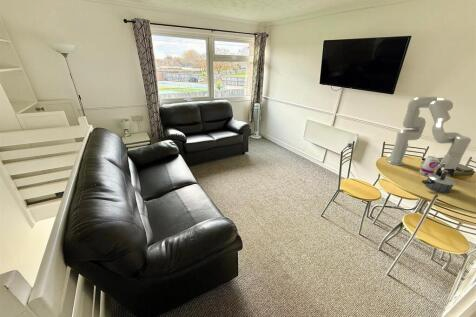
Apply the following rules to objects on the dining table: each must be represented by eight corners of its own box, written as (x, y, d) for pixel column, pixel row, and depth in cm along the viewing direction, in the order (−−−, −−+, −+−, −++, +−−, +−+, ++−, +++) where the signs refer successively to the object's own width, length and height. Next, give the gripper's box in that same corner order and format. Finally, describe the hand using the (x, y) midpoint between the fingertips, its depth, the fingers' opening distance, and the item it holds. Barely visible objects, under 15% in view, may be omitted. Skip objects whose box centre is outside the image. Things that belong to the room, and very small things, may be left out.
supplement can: (433, 177, 167) (442, 160, 160) (422, 175, 169) (430, 159, 162) (427, 172, 174) (435, 156, 168) (416, 171, 176) (424, 155, 169)
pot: (412, 183, 158) (415, 175, 155) (438, 181, 161) (442, 174, 158) (429, 194, 146) (433, 186, 143) (457, 192, 148) (462, 184, 145)
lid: (422, 174, 156) (426, 167, 153) (439, 173, 158) (443, 166, 155) (442, 186, 143) (446, 178, 140) (460, 184, 145) (465, 176, 142)
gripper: (460, 151, 145) (448, 171, 153) (438, 152, 143) (428, 173, 151) (472, 155, 139) (459, 177, 146) (449, 156, 137) (438, 178, 144)
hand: (443, 175), depth 149 cm, fingers open, 9 cm apart
